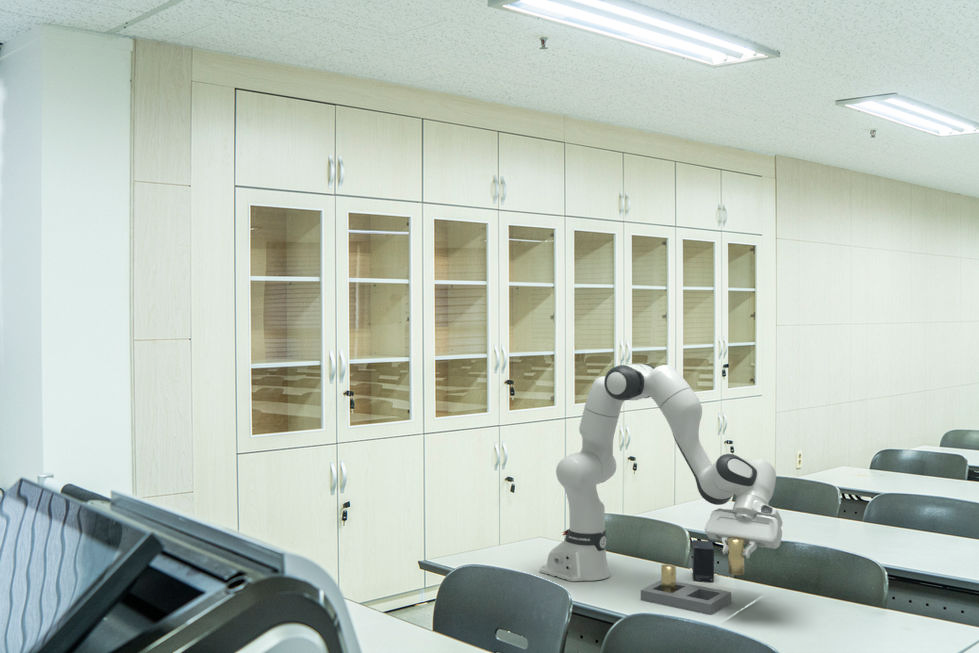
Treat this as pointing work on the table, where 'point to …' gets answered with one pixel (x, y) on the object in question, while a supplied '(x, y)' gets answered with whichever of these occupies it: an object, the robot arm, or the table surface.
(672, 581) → the seated brass billet
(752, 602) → the table surface
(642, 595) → the tray
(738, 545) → the brass billet
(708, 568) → the small box
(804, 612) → the table surface
